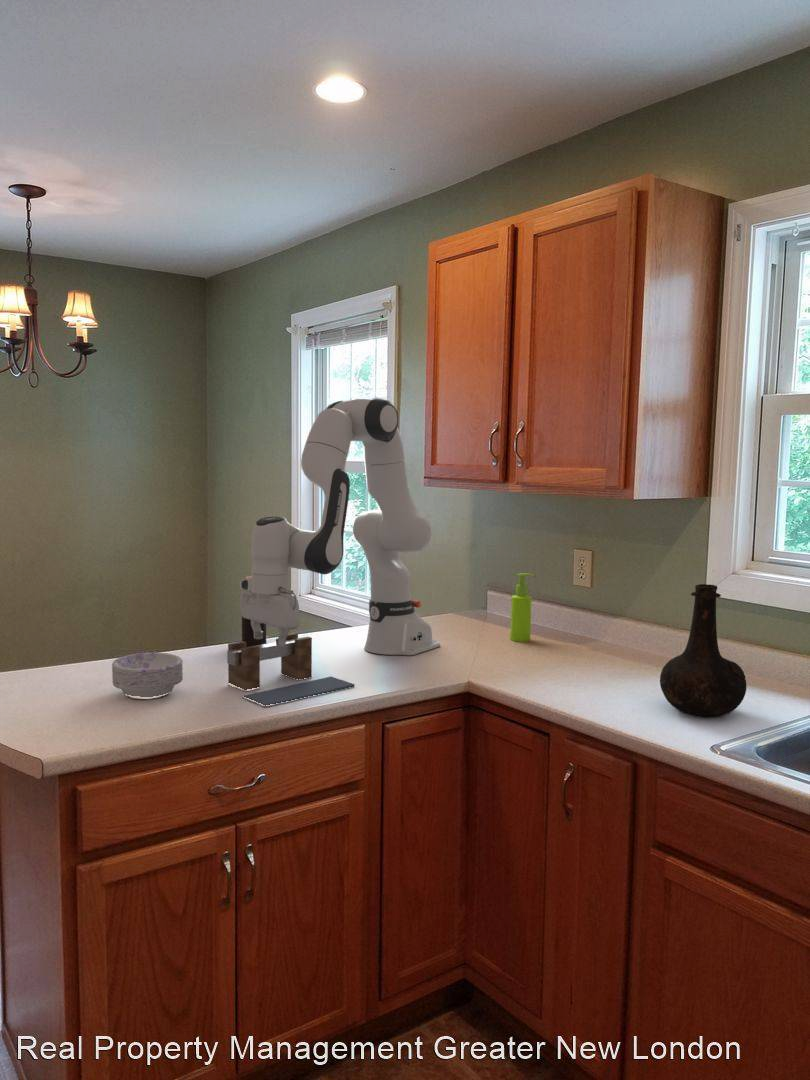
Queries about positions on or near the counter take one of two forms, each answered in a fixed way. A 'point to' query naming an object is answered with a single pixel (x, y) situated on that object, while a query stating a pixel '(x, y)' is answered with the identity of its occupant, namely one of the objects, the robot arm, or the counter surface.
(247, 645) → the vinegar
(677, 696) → the glass bottle
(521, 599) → the soap dispenser
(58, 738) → the counter surface
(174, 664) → the paper bowls
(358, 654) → the counter surface
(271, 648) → the rail
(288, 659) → the cradles
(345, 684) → the mat
